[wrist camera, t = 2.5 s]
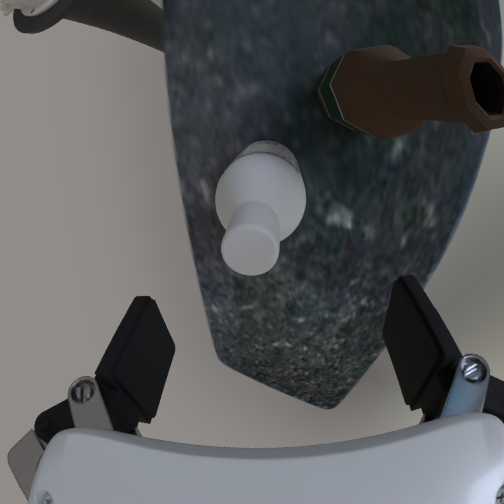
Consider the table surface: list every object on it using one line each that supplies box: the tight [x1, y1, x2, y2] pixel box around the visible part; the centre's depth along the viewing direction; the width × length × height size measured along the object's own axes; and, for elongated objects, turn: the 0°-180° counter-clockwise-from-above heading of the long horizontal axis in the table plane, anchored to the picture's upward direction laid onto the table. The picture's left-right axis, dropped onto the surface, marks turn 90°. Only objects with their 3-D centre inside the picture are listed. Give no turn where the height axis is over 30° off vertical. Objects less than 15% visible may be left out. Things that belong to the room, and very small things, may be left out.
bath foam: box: [215, 140, 306, 275], centre depth 22 cm, size 7×7×20 cm
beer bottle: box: [316, 44, 504, 140], centre depth 15 cm, size 8×8×24 cm
